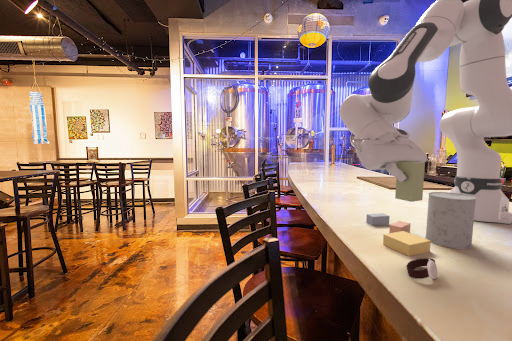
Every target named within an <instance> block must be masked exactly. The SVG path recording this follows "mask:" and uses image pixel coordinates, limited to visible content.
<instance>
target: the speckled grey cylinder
mask: <svg viewBox="0 0 512 341" xmlns="http://www.w3.org/2000/svg"><path fill="white" fill-rule="evenodd" d="M475 202H476V197H473V196H470V195H464V194H458V193H450V192H444V191H432V192H429V193H428V203H427V213H426V230H425V231H426V232H425V237H424V238H425V239H427V240H430V241H431V243H432V244H435V245H437V246H441V247H445V248H450V249H457V250H468V249H471V248H472V247H473V235H474V222H475V220H474V213H475Z"/></svg>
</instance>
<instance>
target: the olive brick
mask: <svg viewBox="0 0 512 341" xmlns="http://www.w3.org/2000/svg"><path fill="white" fill-rule="evenodd" d="M425 165H426V162H397V168H399V169H400V170H401V171H402V172H405V173H406V174H407V175H408V176H409V179H408V180H406V181H405V182H399V181H398V179H397V178H396V177H395V178H396V179H395V180H396V181H395V194H394V199H397V200H402V201H405V202H411V203H412V202H418V201H419V202H421V201H423V197H424V196H423V195H424V182H425V180H424V179H425V167H426V166H425Z"/></svg>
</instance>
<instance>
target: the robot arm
mask: <svg viewBox="0 0 512 341" xmlns="http://www.w3.org/2000/svg"><path fill="white" fill-rule="evenodd" d="M511 19H512V0H466V1H465V2H463V1H462V0H436V1H435V2H433V3H432V4H431V5H430V6H429V7H428V8H427V9H426V11H425V12H424V13H423V14H422V16H421V17H420V18H419V20H418V21H417V22H416V24H415V25H414V26H413V27H412V28H410V30H409V31H408V32H407V33H406V35H404V37H403V39H401V41H400V42H399V44H398V45H397V46H396V47H395V49H394V50H393V52H392V53H391V54H390V56H388V57H387V59H385V60H383V62H382V63H381V64H379V65H378V66H376V67H375V68H374V70H373V71H372V72H370V75H369V77H368V80H367V81H368V83H367V84H368V88H369V92H370V94H362V95H361V94H356V93H353V94H350V95H349V96H347V97H346V98H345V99H344V100H343V101H342V103H341V105H340V108H339V116H340V119H341V121H342V122H343V124H344V125H345V127H346V128H347V129H348V131H349V132H350V133H351V134H352V135H354V137H355V138H354V139H353V140H352V147H354V149H355V153H356V156H357V158H358V159H359V161H360V163H361V164H362V166H363V167H364V168H365V169H366V170H368V171H377V170H378V171H380V170H385V171H386V172H387V173H389V174H390V175H392V176H393V177H395V178H397V179H398V181H399V182H405V181H406V180H408V179H409V176H408V175H407V174H406V173H405V172H402V171H401V170H400V169H399V168H397V162H425V163H426V162H427V161H428V156H427V155H426V153H425V151H424V150H423V149H422V148H421V147H420V146H419V145H418V144H417V143H416V142H415V141H414V140H413V139H411V138H410V137H411V135H410V134H409V132H408V131H407V130H404V129H401V128H397V127H396V126H394V125H395V124H397V123H399V122H402V121H403V120H404V119H405V118H407V116H408V115H409V114H410V112H411V108H412V100H413V89H414V83H415V78H416V64H417V63H418V62H420V63H421V62H422V63H424V62H425V63H426V62H430V61H434V60H436V59H438V58H440V57H441V56H442V55H443V54H444V53H445V51H447V49H448V48H450V47H453V46H457V45H461V46H460V53H459V62H458V63H459V64H458V65H459V67H458V68H459V89H460V91H461V92H462V93H463V94H466V95H468V96H473V97H474V98H475V99H476V101H477V104H478V105H474V106H473V105H472V106H467V107H460V108H456V109H454V110H451V111H448V112H446V113H445V114H443V115H442V117H441V118H440V120H439V129H440V132H441V133H442V135H443V136H445V137H446V138H448V139H449V140H450V141H451V143H452V145H453V146H454V148H455V152H456V156H457V157H456V158H457V159H456V160H457V162H456V163H457V164H456V166H457V167H456V175H455V176H454V180H453V181H454V182H453V185H454V187H453V188H451V189H450V190H449V193H458V194H464V195H470V196H473V197H476V202H475V213H474V221H478V222H487V223H498V224H507V225H510V224H512V211H509V209H510V199H509V198H508V197H507V196H506V194H505V193H504V192H503V191H502V188H503V185H504V184H505V179H504V178H500V176H501V167H502V155H501V154H500V153H499V152H498V151H496V150H494V149H492V148H490V147H489V146H488V145H486V143H485V138H496V137H497V138H499V137H510V136H512V89H511V88H510V86H509V83H508V79H507V71H506V70H507V69H506V47H505V45H506V44H505V41H504V35H503V33H502V31H503V30H504V29H505V26H507V24H508V23H509V22H510V20H511Z"/></svg>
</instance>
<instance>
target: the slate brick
mask: <svg viewBox="0 0 512 341" xmlns="http://www.w3.org/2000/svg"><path fill="white" fill-rule="evenodd" d="M365 223H367V224H369V225H370V226H385V225H386V226H387V224H388V225H390V215H388V214H385V213H366V222H365Z"/></svg>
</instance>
